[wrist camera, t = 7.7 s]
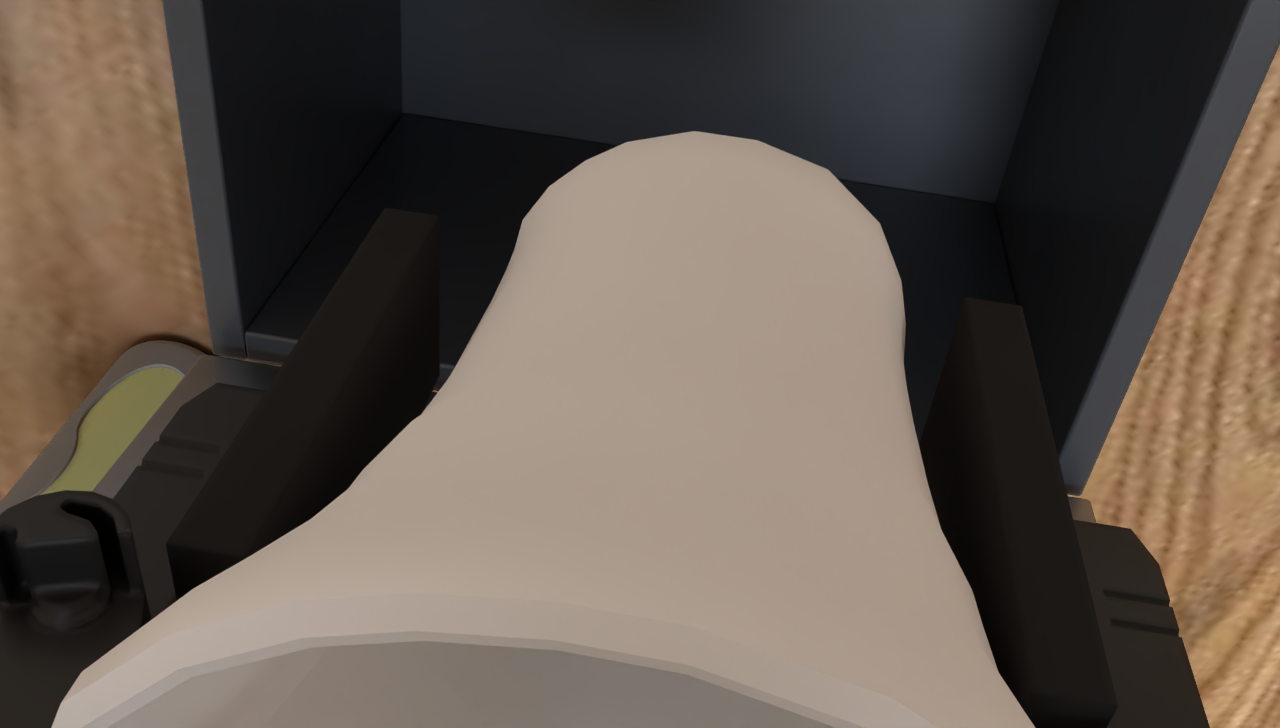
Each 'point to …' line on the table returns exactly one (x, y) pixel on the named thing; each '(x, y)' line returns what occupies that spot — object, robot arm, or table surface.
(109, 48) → the table surface
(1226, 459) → the table surface
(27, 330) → the table surface
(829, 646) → the cup
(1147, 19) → the dark grey storage bin
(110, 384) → the spray bottle
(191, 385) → the lid
